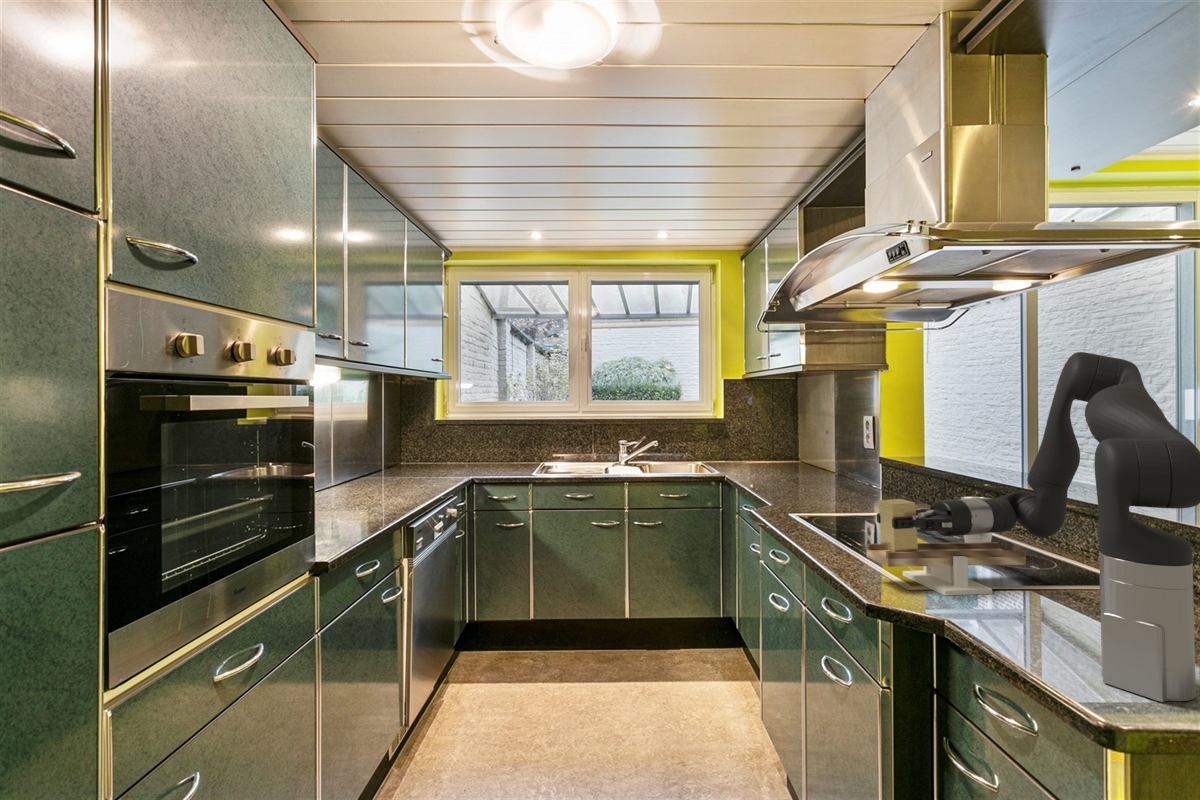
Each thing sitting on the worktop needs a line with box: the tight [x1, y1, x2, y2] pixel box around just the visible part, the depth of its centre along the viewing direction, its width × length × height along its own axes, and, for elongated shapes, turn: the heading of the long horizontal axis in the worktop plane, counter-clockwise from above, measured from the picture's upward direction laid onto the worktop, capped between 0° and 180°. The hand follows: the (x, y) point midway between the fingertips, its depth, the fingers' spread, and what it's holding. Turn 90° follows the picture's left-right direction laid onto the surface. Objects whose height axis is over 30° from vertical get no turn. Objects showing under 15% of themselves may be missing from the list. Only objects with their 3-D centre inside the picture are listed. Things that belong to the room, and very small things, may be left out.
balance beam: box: [866, 541, 1027, 568], centre depth 123 cm, size 30×8×3 cm, turn 95°
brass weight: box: [878, 498, 919, 552], centre depth 122 cm, size 5×5×10 cm
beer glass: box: [960, 495, 993, 543], centre depth 142 cm, size 7×7×15 cm
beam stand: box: [902, 556, 993, 597], centre depth 123 cm, size 10×14×7 cm
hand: (885, 520), depth 122 cm, fingers closed on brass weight, 5 cm apart
